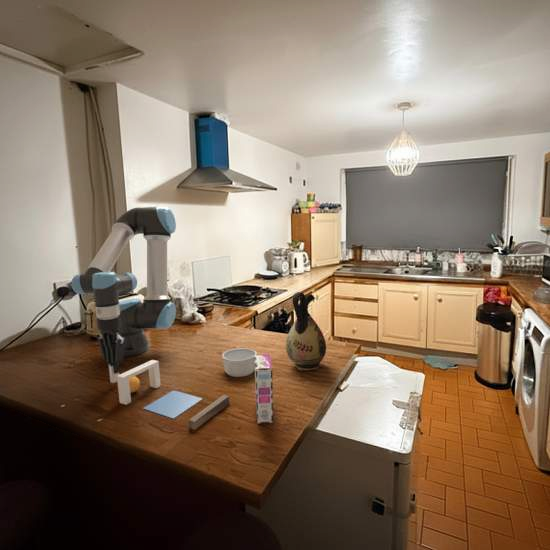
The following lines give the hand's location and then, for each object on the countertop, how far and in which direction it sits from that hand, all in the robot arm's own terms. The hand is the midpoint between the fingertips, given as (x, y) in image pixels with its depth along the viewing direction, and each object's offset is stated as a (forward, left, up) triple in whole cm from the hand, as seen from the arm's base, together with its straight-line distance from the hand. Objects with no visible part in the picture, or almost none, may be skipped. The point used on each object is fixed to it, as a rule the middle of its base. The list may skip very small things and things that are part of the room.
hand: (115, 381), depth 126 cm
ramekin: (+33, +30, -2) cm, 45 cm away
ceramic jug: (+54, +44, -2) cm, 70 cm away
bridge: (+13, 0, -2) cm, 13 cm away
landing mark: (+28, 0, -2) cm, 28 cm away
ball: (+9, 0, +1) cm, 9 cm away
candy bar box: (+57, +8, -2) cm, 58 cm away
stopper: (+43, 0, -2) cm, 43 cm away
